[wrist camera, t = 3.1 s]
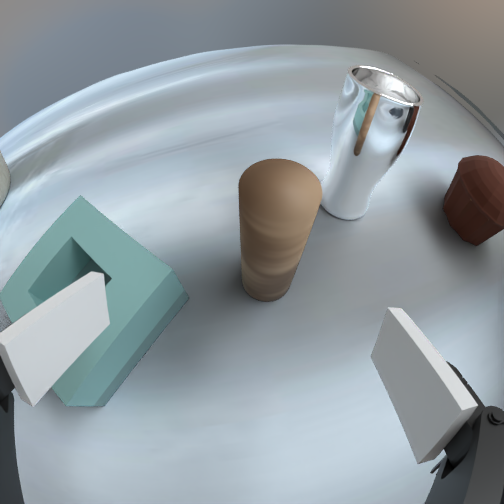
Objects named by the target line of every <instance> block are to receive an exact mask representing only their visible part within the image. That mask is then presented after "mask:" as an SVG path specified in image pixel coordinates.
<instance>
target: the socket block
mask: <svg viewBox="0 0 504 504" xmlns="http://www.w3.org/2000/svg"><path fill="white" fill-rule="evenodd" d="M91 271H92V272H97V273H103V274H104V281H105V291H106V299H107V307H108V314H109V320H110V324H109V325H108V326H107V327H106V328H105V329H104V331H103V332H102V333H101V334H100V335H99V336H98V337H97V338H96V339H95V340H94V341H93V342H92V343H91V344H90V345H89V346H88V347H87V348H86V349H85V350H84V351H83V352H82V354H81V355H80V356H79V357H78V358H77V359H76V360H75V361H74V362H73V363H72V364H71V365H70V367H69V368H68V369H67V370H66V371H65V372H64V373H63V374H62V375H61V376H60V378H59V379H58V380H57V381H56V382H55V383H54V384H53V385H52V389H53V390H54V391H55V393H56V394H57V395H58V397H59V398H60V399H61V401H62V402H63V403H64V404H65V406H105V405H106V403H107V402H108V401H109V399H110V398H111V397H112V396H113V394H114V393H115V392H116V390H117V389H118V388H119V386H120V385H121V384H122V382H123V381H124V380H125V379H126V377H127V376H128V375H129V373H130V372H131V371H132V370H133V368H134V367H135V366H136V364H137V363H138V362H139V361H140V359H141V358H142V357H143V355H144V354H145V353H146V352H147V350H148V349H149V348H150V347H151V345H152V344H153V343H154V341H155V340H156V339H157V338H158V336H159V335H160V334H161V333H162V331H163V330H164V329H165V328H166V326H167V325H168V324H169V323H170V321H171V320H172V319H173V318H174V316H175V315H176V314H177V313H178V311H179V310H180V309H181V308H182V306H183V305H184V304H185V303H186V301H187V300H188V299H189V297H188V295H187V294H186V292H185V290H184V288H183V287H182V285H181V283H180V282H179V280H178V278H177V276H176V274H175V273H174V271H173V269H172V268H170V267H169V266H168V265H166V264H165V263H164V262H162V261H161V260H160V259H158V258H157V257H156V256H154V255H153V254H152V253H151V252H149V251H148V250H147V249H145V248H144V247H143V246H141V245H140V244H139V243H138V242H136V241H135V240H134V239H133V238H131V237H130V236H129V235H128V234H126V233H125V232H124V231H123V230H121V229H120V228H119V227H118V226H116V225H115V224H114V223H113V222H112V221H110V220H109V219H108V218H107V217H106V216H104V215H103V214H102V213H101V212H100V211H98V210H97V209H96V208H95V207H94V206H92V205H91V204H90V203H89V202H88V201H87V200H85V199H84V198H83V197H82V196H81V195H80V196H79V197H78V198H77V199H76V200H75V201H74V202H73V203H72V204H71V205H70V206H69V207H68V208H67V209H66V210H65V212H64V213H63V214H62V215H61V216H60V217H59V218H58V219H57V220H56V221H55V222H54V223H53V225H52V226H51V227H50V228H49V229H48V230H47V231H46V233H45V234H44V235H43V236H42V237H41V239H40V240H39V241H38V242H37V243H36V245H35V246H34V247H33V248H32V250H31V251H30V252H29V253H28V255H27V256H26V257H25V259H24V260H23V261H22V263H21V264H20V265H19V267H18V268H17V269H16V271H15V272H14V273H13V275H12V276H11V278H10V279H9V281H8V282H7V284H6V285H5V287H4V288H3V290H2V291H1V293H0V299H1V301H2V304H3V306H4V308H5V310H6V312H7V314H8V316H9V318H10V320H11V322H12V323H14V322H15V321H17V320H18V319H19V318H21V317H22V316H23V315H25V314H27V313H29V312H30V311H31V310H33V309H34V308H36V307H37V306H39V305H40V304H42V303H43V302H45V301H46V300H48V299H49V298H51V297H52V296H54V295H55V294H57V293H58V292H60V291H61V290H63V289H64V288H66V287H67V286H69V285H71V284H72V283H74V282H75V281H77V280H78V279H80V278H82V277H83V276H85V275H87V274H88V273H90V272H91Z"/></svg>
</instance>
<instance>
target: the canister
mask: <svg viewBox="0 0 504 504" xmlns="http://www.w3.org/2000/svg"><path fill="white" fill-rule="evenodd" d="M9 187H10V173H9V169H8V166H7V164H6V162H5V160H4V158H3V156H2V153H1V151H0V207H1V205H2V204H3V201H4V200H5V197H6V196H7V193H8V191H9Z"/></svg>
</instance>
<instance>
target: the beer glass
mask: <svg viewBox="0 0 504 504" xmlns="http://www.w3.org/2000/svg"><path fill="white" fill-rule="evenodd" d="M423 103H424V100H423V97H422V95H421V94H420V93H419V92H418V91H417V90H416V89H415V88H414V87H413V86H411V85H410V84H409V83H407V82H406V81H404V80H403V79H401V78H399V77H397V76H395V75H393V74H391V73H389V72H386V71H383V70H380V69H377V68H374V67H369V66H361V65H357V66H352V67H350V68H349V69H348V73H347V76H346V79H345V82H344V85H343V87H342V90H341V93H340V96H339V100H338V103H337V107H336V111H335V115H334V120H333V128H332V139H331V156H330V165H329V169H328V172H327V174H326V176H325V177H324V179H323V181H322V182H321V187H322V200H321V205H322V206H323V208H324V209H325V210H326V211H327V212H329V213H330V214H332V215H333V216H335V217H338V218H340V219H344V220H355V219H358V218H360V217H362V216H363V215H364V214H365V213H366V212H367V210H368V207H369V203H370V199H371V196H372V193H373V192H374V189H375V187H376V186H377V184H378V183H379V182H380V181H381V179H382V178H383V177H384V176H385V175H386V174H387V172H388V171H389V170H390V169H391V168H392V166H393V165H394V164H395V163H396V161H397V160H398V158H399V157H400V156H401V154H402V153H403V151H404V149H405V147H406V146H407V144H408V142H409V140H410V137H411V135H412V133H413V130H414V128H415V125H416V122H417V119H418V116H419V113H420V110H421V107H422V105H423Z"/></svg>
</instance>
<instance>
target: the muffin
mask: <svg viewBox="0 0 504 504" xmlns="http://www.w3.org/2000/svg"><path fill="white" fill-rule="evenodd" d="M443 210H444V212H445V214H446V216H447V218H448V221H449V224H450V226H451V227H452V228H453V229H454V230H455V231H456V232H457V233H458V234H459V236H460V237H461V238H462V239H463V240H464V241H467V242H470V243H472V244H474V245H475V246H477V245H479V244H481V243H482V242H484V241H486V240H487V239H489V238H490V237H492V236H494V235H495V234H497V233H498V232H500V231H501V230H503V229H504V167H503V166H502V165H501V164H500V163H499V162H498V161H496V160H494V159H493V158H490V157H487V156H479V155H476V156H470V157H465V158H462V160H461V161H460V162H459V163H458V169H457V172H456V174H455V176H454V178H453V180H452V182H451V185H450V187H449V189H448V191H447V193H446V195H445V203H444V206H443Z"/></svg>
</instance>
